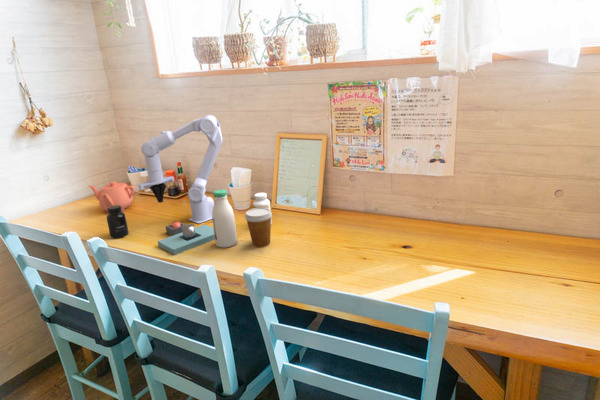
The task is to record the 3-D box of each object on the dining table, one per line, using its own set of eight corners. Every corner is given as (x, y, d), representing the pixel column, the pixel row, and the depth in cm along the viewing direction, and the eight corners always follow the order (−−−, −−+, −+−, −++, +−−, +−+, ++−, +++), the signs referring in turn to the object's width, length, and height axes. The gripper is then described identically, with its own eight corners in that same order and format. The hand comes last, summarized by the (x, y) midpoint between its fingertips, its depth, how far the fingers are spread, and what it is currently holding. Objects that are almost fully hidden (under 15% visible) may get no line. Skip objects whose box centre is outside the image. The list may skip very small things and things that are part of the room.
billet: (193, 238, 155) (190, 223, 153) (198, 241, 151) (196, 226, 149) (182, 241, 152) (179, 226, 150) (187, 245, 149) (184, 229, 147)
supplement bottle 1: (122, 239, 158) (116, 210, 154) (106, 238, 160) (100, 210, 156) (132, 232, 164) (126, 204, 161) (117, 231, 166) (111, 204, 162)
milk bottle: (241, 240, 149) (235, 188, 143) (229, 249, 143) (222, 195, 136) (224, 238, 152) (217, 187, 146) (211, 246, 146) (203, 193, 140)
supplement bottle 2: (260, 221, 167) (257, 191, 163) (275, 222, 164) (272, 192, 160) (252, 227, 161) (248, 196, 157) (266, 228, 158) (263, 197, 154)
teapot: (108, 217, 184) (101, 188, 180) (93, 210, 195) (86, 183, 191) (141, 207, 195) (136, 180, 191) (125, 201, 206) (120, 175, 202)
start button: (179, 229, 163) (177, 221, 162) (183, 231, 161) (181, 222, 160) (171, 231, 161) (170, 223, 160) (175, 233, 158) (174, 225, 157)
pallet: (205, 229, 163) (204, 224, 162) (222, 236, 154) (221, 231, 154) (158, 246, 149) (157, 241, 149) (174, 255, 141) (173, 249, 141)
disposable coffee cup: (263, 235, 152) (260, 205, 149) (280, 242, 146) (277, 210, 142) (242, 244, 146) (239, 213, 142) (259, 251, 140) (256, 218, 136)
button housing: (180, 228, 165) (179, 221, 164) (188, 232, 161) (187, 225, 160) (166, 233, 161) (165, 226, 160) (174, 237, 157) (173, 229, 156)
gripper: (166, 165, 173) (171, 195, 177) (132, 172, 163) (139, 204, 167) (174, 167, 168) (179, 198, 172) (140, 175, 158) (147, 208, 163)
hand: (160, 201), depth 169 cm, fingers closed
